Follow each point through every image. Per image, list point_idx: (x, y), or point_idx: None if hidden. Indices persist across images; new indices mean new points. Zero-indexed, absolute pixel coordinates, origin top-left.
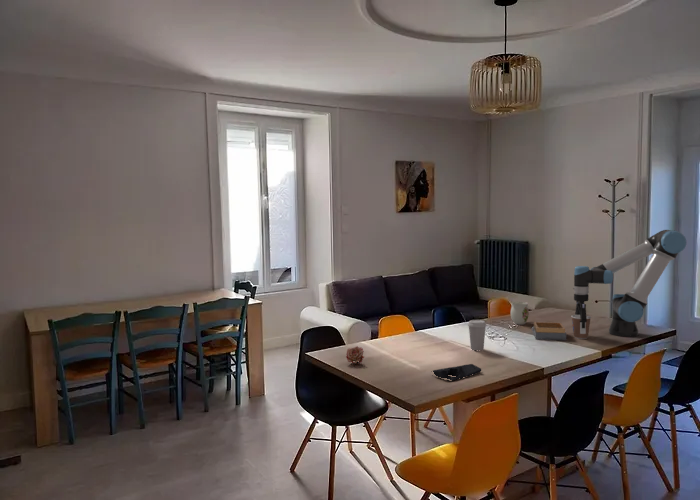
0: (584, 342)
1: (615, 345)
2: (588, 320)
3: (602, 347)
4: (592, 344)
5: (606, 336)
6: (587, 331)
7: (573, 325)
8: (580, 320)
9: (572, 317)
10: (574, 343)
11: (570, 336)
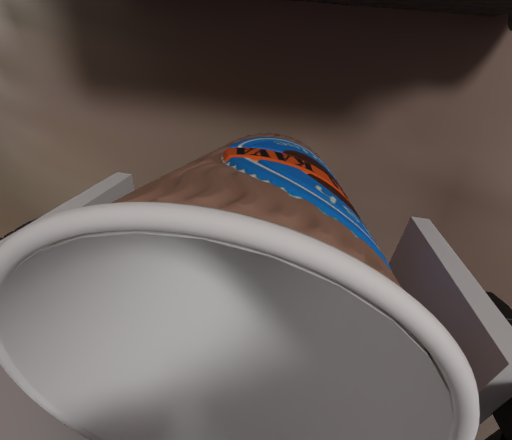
0: (96, 162)
1: None
2: (122, 387)
3: (9, 228)
4: (57, 198)
5: None
6: (202, 263)
7: (221, 157)
8: (47, 296)
9: (87, 206)
10: (23, 56)
11: (314, 101)
